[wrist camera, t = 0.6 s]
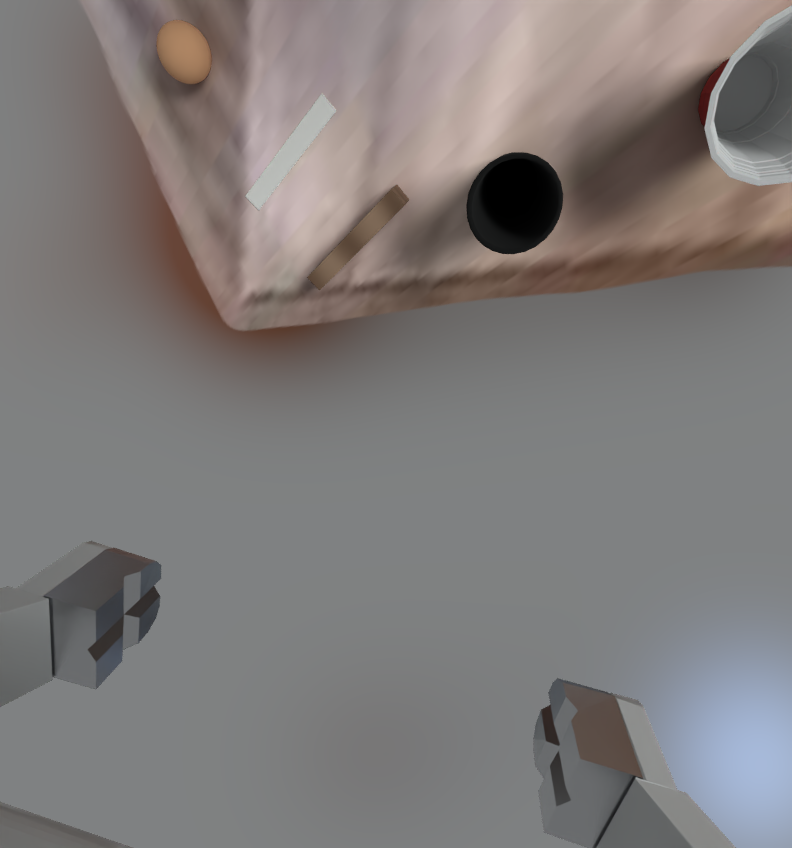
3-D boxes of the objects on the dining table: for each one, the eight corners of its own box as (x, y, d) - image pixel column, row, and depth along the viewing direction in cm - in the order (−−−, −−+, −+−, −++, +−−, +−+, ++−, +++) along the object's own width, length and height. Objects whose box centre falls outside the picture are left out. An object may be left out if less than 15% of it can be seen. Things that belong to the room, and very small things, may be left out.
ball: (189, 9, 44) (160, 1, 41) (229, 55, 46) (204, 52, 42) (166, 54, 47) (136, 50, 43) (205, 96, 48) (179, 96, 45)
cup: (480, 230, 51) (474, 262, 41) (468, 152, 47) (458, 168, 37) (554, 213, 49) (566, 243, 39) (547, 129, 45) (559, 140, 35)
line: (325, 93, 47) (322, 93, 46) (339, 110, 48) (336, 110, 47) (249, 194, 54) (245, 196, 53) (262, 208, 55) (258, 210, 54)
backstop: (396, 184, 50) (391, 189, 47) (409, 199, 50) (404, 205, 48) (315, 269, 57) (307, 277, 55) (327, 282, 58) (319, 290, 55)
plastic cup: (659, 50, 40) (707, 36, 30) (814, -14, 36) (925, -52, 27) (666, 183, 45) (709, 208, 36) (801, 140, 42) (890, 154, 32)
